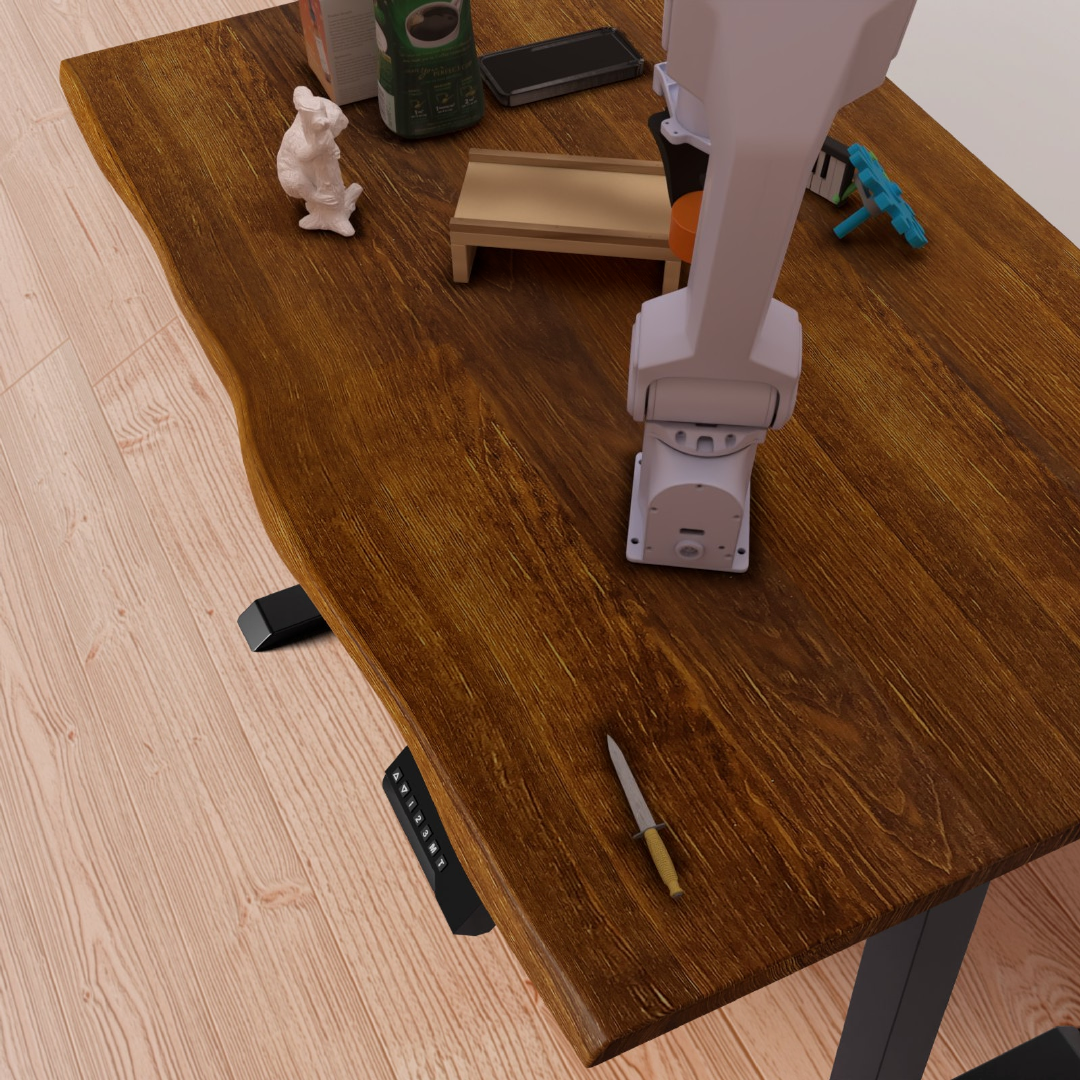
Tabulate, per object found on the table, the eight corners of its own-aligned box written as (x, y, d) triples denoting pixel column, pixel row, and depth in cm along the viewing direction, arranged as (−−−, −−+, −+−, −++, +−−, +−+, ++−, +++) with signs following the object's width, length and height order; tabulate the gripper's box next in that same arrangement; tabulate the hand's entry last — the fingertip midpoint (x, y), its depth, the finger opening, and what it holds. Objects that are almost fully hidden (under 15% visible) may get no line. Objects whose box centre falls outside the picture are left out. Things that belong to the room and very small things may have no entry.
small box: (308, 66, 114) (289, -42, 105) (362, 53, 115) (348, -55, 107) (334, 108, 109) (317, -1, 101) (390, 94, 110) (378, -15, 102)
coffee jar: (468, 84, 112) (456, -121, 97) (494, 129, 107) (486, -80, 92) (370, 103, 110) (343, -103, 95) (392, 150, 105) (367, -60, 90)
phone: (648, 63, 111) (503, 97, 108) (647, 74, 112) (503, 108, 109) (613, 24, 116) (472, 55, 112) (612, 34, 117) (473, 66, 113)
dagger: (590, 737, 68) (621, 723, 68) (593, 743, 69) (624, 730, 69) (659, 901, 62) (694, 886, 62) (662, 906, 62) (696, 892, 63)
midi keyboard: (688, 123, 108) (693, 73, 104) (697, 117, 108) (703, 67, 104) (838, 208, 100) (850, 158, 96) (847, 202, 100) (859, 151, 96)
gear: (946, 260, 93) (878, 176, 88) (882, 304, 96) (812, 225, 91) (913, 191, 101) (849, 111, 96) (855, 234, 104) (790, 158, 98)
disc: (715, 214, 88) (719, 182, 86) (752, 253, 85) (758, 222, 83) (655, 233, 86) (658, 202, 84) (691, 274, 84) (695, 243, 81)
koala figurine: (378, 239, 97) (360, 109, 88) (299, 255, 96) (272, 126, 86) (356, 181, 102) (337, 53, 93) (280, 196, 101) (253, 67, 91)
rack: (676, 300, 92) (683, 241, 88) (453, 282, 94) (449, 223, 89) (682, 222, 99) (689, 163, 94) (473, 206, 100) (469, 147, 95)
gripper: (618, 12, 77) (609, 187, 88) (731, 127, 69) (705, 304, 80) (711, -11, 79) (691, 163, 89) (831, 98, 71) (793, 275, 81)
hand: (703, 228), depth 85 cm, fingers closed on disc, 5 cm apart
